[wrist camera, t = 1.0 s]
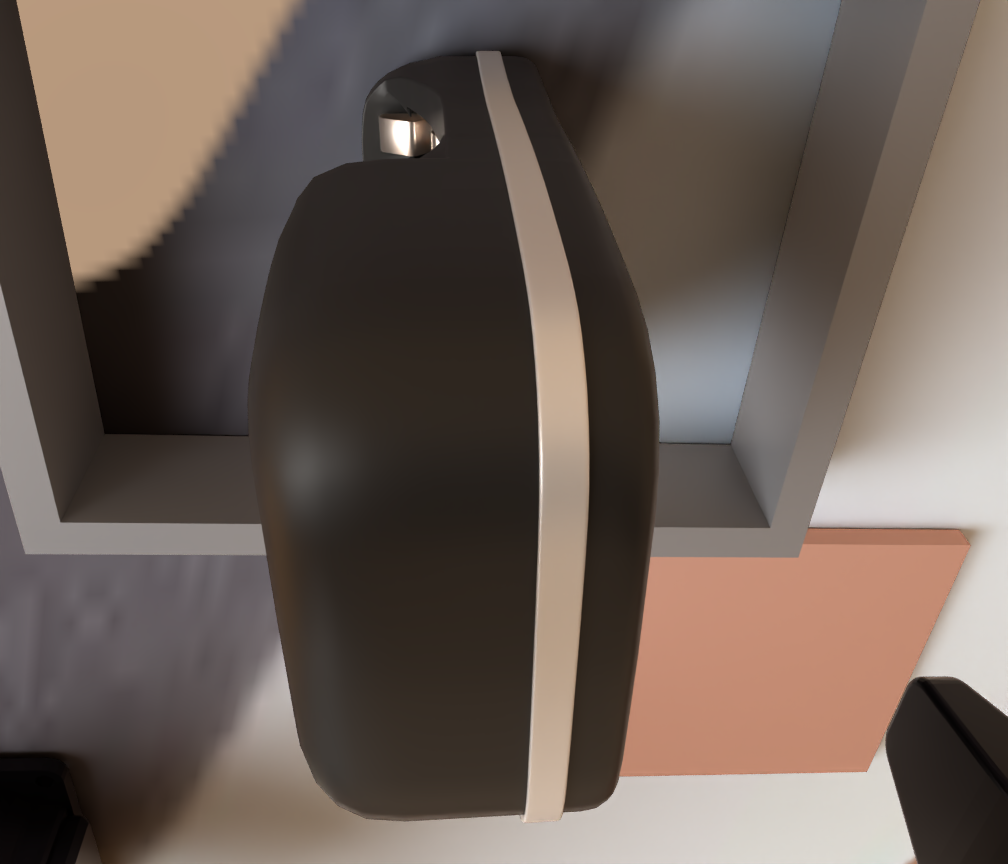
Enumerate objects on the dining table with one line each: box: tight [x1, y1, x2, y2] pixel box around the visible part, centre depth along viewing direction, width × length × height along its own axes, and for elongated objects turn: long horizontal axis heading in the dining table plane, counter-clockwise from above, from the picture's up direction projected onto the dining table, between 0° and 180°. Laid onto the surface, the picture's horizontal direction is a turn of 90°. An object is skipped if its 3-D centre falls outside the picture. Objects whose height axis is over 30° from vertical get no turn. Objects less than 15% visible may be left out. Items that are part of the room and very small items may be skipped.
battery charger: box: [248, 51, 659, 823], centre depth 13 cm, size 7×4×11 cm, turn 179°
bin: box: [0, 0, 980, 558], centre depth 17 cm, size 16×12×3 cm
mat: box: [619, 528, 971, 776], centre depth 25 cm, size 9×9×1 cm
